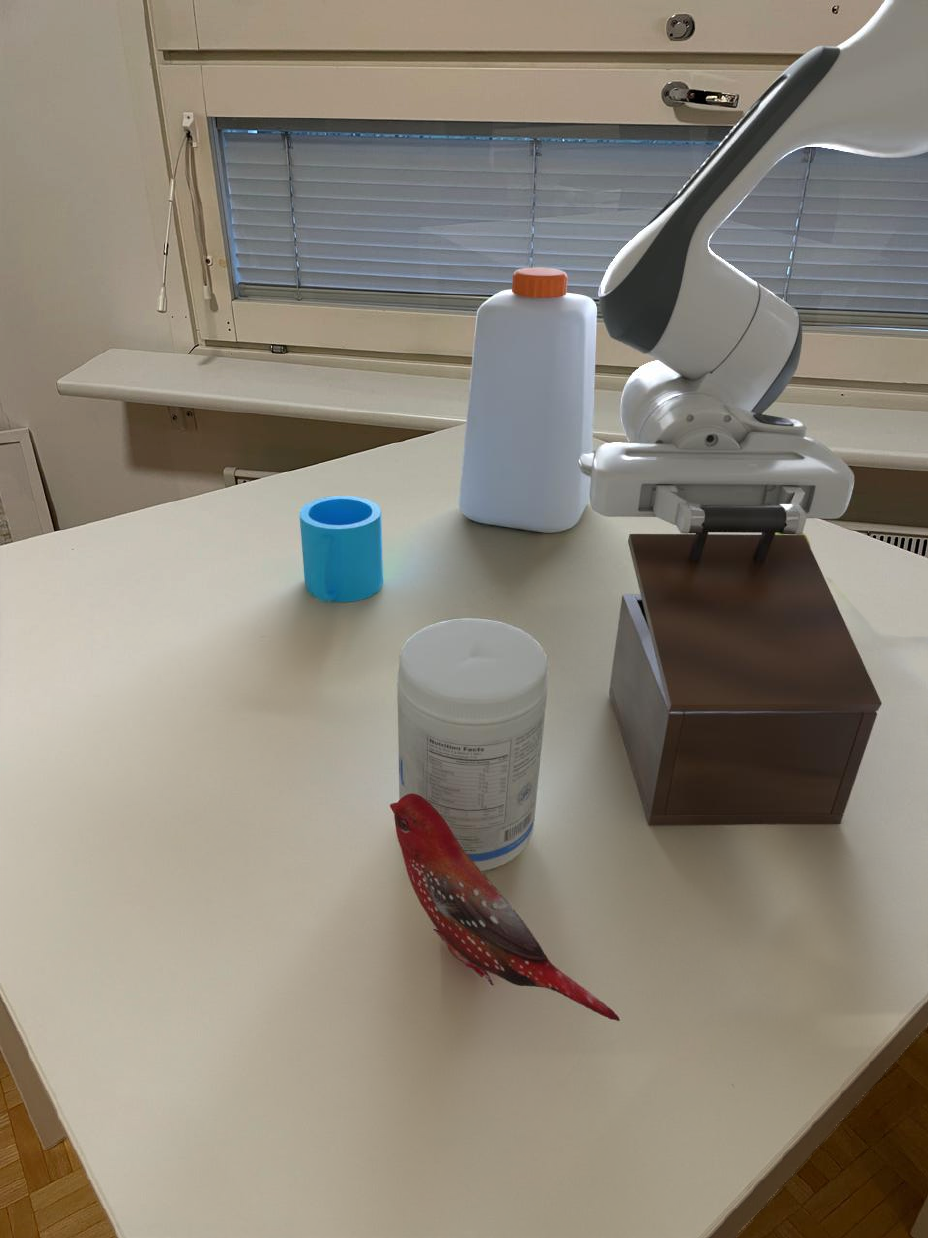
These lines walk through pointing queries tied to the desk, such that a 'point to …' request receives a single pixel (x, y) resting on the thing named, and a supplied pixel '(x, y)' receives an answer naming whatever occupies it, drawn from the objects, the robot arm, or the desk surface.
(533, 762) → the supplement tub
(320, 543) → the mug
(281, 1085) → the desk surface
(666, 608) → the chest lid
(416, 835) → the decorative bird figurine
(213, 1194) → the desk surface
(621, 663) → the chest
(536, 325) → the plastic bottle
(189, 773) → the desk surface
